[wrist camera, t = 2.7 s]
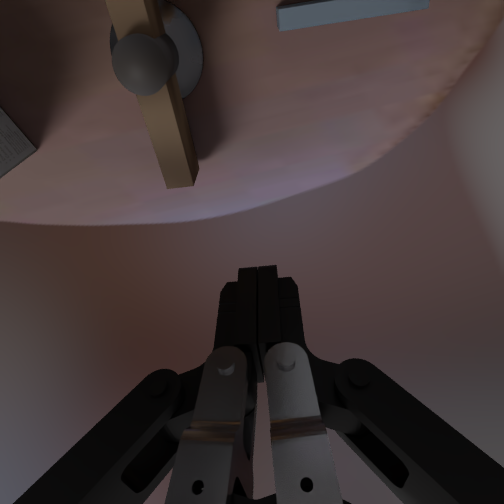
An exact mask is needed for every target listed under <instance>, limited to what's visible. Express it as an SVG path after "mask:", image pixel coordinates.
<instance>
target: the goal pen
mask: <svg viewBox="0 0 504 504" xmlns="http://www.w3.org/2000/svg"><path fill="white" fill-rule="evenodd" d="M429 1H430V0H314V1H308V2H302V3H296V4H290V5H284V6H277V7H276V13H277V27H278V29H279V31H286V30H293V29H299V28H305V27H312V26H318V25H325V24H331V23H338V22H344V21H350V20H357V19H363V18H370V17H376V16H382V15H389V14H395V13H402V12H408V11H414V10H421V9H427V8H428V7H429Z"/></svg>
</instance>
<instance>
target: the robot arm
mask: <svg viewBox="0 0 504 504" xmlns="http://www.w3.org/2000/svg"><path fill="white" fill-rule="evenodd" d="M264 375H265V380H266V385H267V395H268V404H269V415H270V426H271V428H270V434H271V445H272V457H273V467H274V477H275V487H276V493H275V494H273V495H270V496H267V497H264V498H261V499H258V500H254V499H253V488H254V486H253V485H254V481H253V480H254V477H253V454H254V453H253V452H254V441H255V427H256V414H257V383H260V382H264ZM326 427H327V428H330V429H333V430H335V431H336V432H337V434H338V435H339V436H340V437H341V438H342V439H343V440H344V441H345V442H346V443H347V445H349V447H350V448H351V449H352V450H353V451H354V452H355V453H356V454H357V455H358V456H359V457H360V458H361V459H362V460H363V461H364V462H365V463H366V464H367V466H368V467H369V468H370V469H371V470H372V471H373V472H374V473H375V474H376V475H377V476H378V477H379V478H380V479H381V480H382V481H383V482H384V483H385V484H386V486H388V488H389V489H390V490H391V491H392V492H393V493H394V494H395V495H396V496H397V497H398V498H399V499H400V500H401V501H402V502H403V503H404V504H504V468H503V467H502V466H501V465H500V464H498V463H497V462H496V461H494V460H493V459H492V458H490V457H489V456H488V455H487V454H486V453H484V452H483V451H482V450H480V449H479V448H478V447H477V446H475V445H474V444H473V443H472V442H470V441H469V440H468V439H466V438H465V437H464V436H463V435H462V434H460V433H459V432H458V431H457V430H455V429H454V428H453V427H451V426H450V425H449V424H448V423H446V422H445V421H444V420H443V419H441V418H440V417H439V416H438V415H436V414H435V413H434V412H432V411H431V410H430V409H429V408H427V407H426V406H425V405H423V404H422V403H421V402H420V401H418V400H417V399H416V398H415V397H414V396H412V395H411V394H410V393H408V392H407V391H406V390H404V389H403V388H402V387H401V386H399V385H398V384H397V383H396V382H395V381H393V380H392V379H391V378H390V377H388V376H387V375H386V374H384V373H383V372H382V371H381V370H379V369H378V368H377V367H375V366H374V365H373V364H371V363H370V362H368V361H366V360H363V359H356V358H355V359H354V358H353V359H348V360H345V361H343V362H342V363H340V364H336V363H332V362H328V361H324V360H321V359H319V358H317V357H316V356H314V355H313V354H312V353H311V352H310V351H309V349H308V348H307V346H306V344H305V339H304V332H303V323H302V316H301V308H300V301H299V293H298V286H297V285H296V284H295V282H294V280H293V279H292V278H291V277H284V278H278V274H277V265H270V266H259V267H258V268H257V267H248V268H239V271H238V281H237V282H227V283H226V285H225V286H224V288H223V289H222V291H221V293H220V301H219V309H218V317H217V326H216V333H215V341H214V348H213V351H212V353H211V354H210V355H209V356H208V358H207V359H206V362H205V363H203V364H202V365H201V366H199V367H197V368H195V369H193V370H190V371H187V372H185V373H182V374H179V375H178V374H177V373H176V372H174V371H172V370H170V369H160V370H157V371H154V372H152V373H151V374H149V375H148V376H147V377H145V378H144V379H143V380H142V381H141V382H140V383H139V384H138V385H137V386H136V387H135V388H134V389H133V390H132V391H131V392H130V393H129V394H128V395H127V396H125V397H124V398H123V399H122V400H121V401H120V402H119V403H118V404H117V405H116V406H115V407H114V408H113V409H112V410H111V411H110V412H109V413H108V414H107V415H106V416H104V418H102V419H101V420H100V421H99V422H98V423H97V424H96V425H95V426H94V427H93V428H92V429H91V430H90V431H89V432H88V433H87V434H86V435H85V436H83V437H82V439H80V440H79V441H78V442H77V443H76V444H75V445H74V446H73V447H72V448H71V449H70V450H69V451H68V452H67V453H66V454H65V455H64V456H63V457H61V458H60V459H59V460H58V461H57V462H56V463H55V464H54V465H53V466H52V467H51V468H50V469H49V470H48V471H47V472H46V473H45V474H44V475H43V476H42V477H40V478H39V479H38V480H37V481H36V482H35V483H34V484H33V485H32V486H31V487H30V488H29V489H28V490H27V491H26V492H25V493H24V494H23V495H22V496H21V497H20V498H18V499H17V500H16V501H15V502H14V503H13V504H143V503H144V502H145V500H146V499H147V498H148V497H149V496H150V494H151V493H152V492H153V491H154V490H155V488H156V487H157V486H158V485H159V483H160V482H161V481H162V480H163V479H164V477H165V476H166V475H167V474H168V473H169V471H170V470H171V469H172V468H173V471H172V475H171V479H170V483H169V488H168V492H167V496H166V500H165V504H351V503H349V502H347V501H345V500H343V499H342V496H341V492H340V487H339V483H338V479H337V474H336V470H335V466H334V461H333V457H332V452H331V448H330V444H329V439H328V435H327V431H326ZM173 466H174V467H173Z"/></svg>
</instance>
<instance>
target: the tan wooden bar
mask: <svg viewBox="0 0 504 504" xmlns="http://www.w3.org/2000/svg"><path fill="white" fill-rule="evenodd" d="M105 2H106V5H107V8H108V11H109V14H110V17H111V20H112V23H113V26H114V29H115V32H116V35H117V38H118V42H117V44H116V45H115V47H114V49H113V53H112V65H113V69H114V72H115V74H116V76H117V78H118V80H119V81H120V82H121V84H122V85H123V86H124V87H125V88H126V89H128V90H129V91H131V92H132V93H134V94H136V96H137V99H138V102H139V105H140V108H141V111H142V114H143V117H144V120H145V123H146V126H147V129H148V132H149V135H150V138H151V141H152V144H153V147H154V150H155V153H156V156H157V159H158V162H159V165H160V168H161V171H162V174H163V177H164V180H165V183H166V186H167V189H171V188H180V187H188V186H194V183H195V180H196V177H197V174H198V171H199V165H198V161H197V157H196V153H195V149H194V145H193V141H192V137H191V133H190V129H189V125H188V121H187V117H186V113H185V109H184V105H183V101H182V97H181V93H180V89H179V85H178V81H177V77H176V71H177V69H178V65H179V54H178V50H177V47H176V45H175V43H174V41H173V40H172V39H171V38H170V36H169V35H167V34H166V33H165V29H164V25H163V21H162V17H161V13H160V9H159V5H158V1H157V0H105Z"/></svg>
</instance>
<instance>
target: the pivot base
mask: <svg viewBox="0 0 504 504" xmlns="http://www.w3.org/2000/svg"><path fill="white" fill-rule="evenodd" d="M157 1H158V5H159V9H160V13H161V17H162V21H163V25H164V29H165V33H166V34H167V35H169V36H170V38H171V39H172V40H173V41H174V43H175V45H176V47H177V50H178V54H179V65H178V69H177V71H176V77H177V81H178V85H179V89H180V93H181V97H182V99H183V98H185V97H186V96H187V95H189V94H190V93H191V92H192V91H193V89H194V88H195V86H196V85H197V83H198V81H199V79H200V76H201V73H202V68H203V51H202V45H201V41H200V38H199V36H198V33H197V31H196V29H195V27H194V26H193V24H192V22H191V21H190V20H189V18H188V17H187V16H186V15H185V14H184V13H183V12H182V11H181V10H180V9H179V8H177V7H176V6H175V5H173V4H171V3H170V2H168V1H165V0H157ZM117 42H118V38H117V35H116V32H115V29H114V26H113V24H112V27H111V33H110V48H111V54H112V53H113V49H114V47H115V45H116V44H117Z"/></svg>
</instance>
